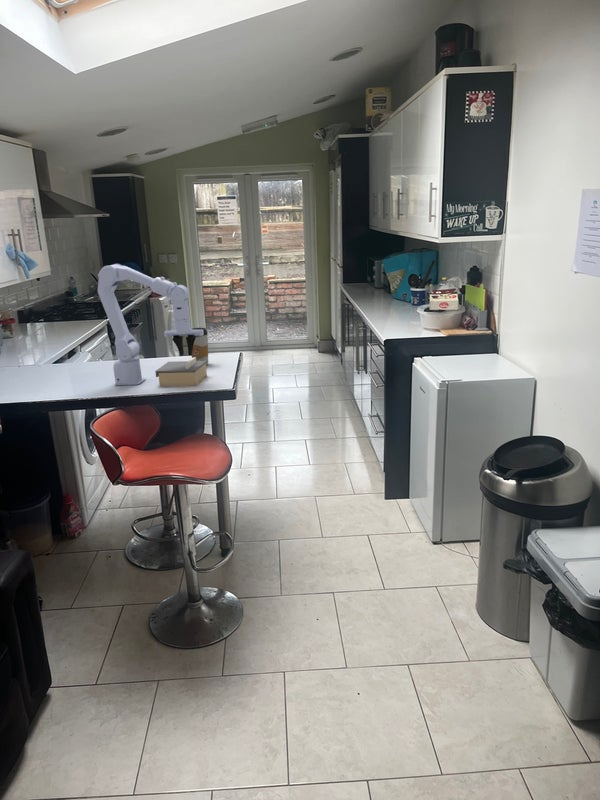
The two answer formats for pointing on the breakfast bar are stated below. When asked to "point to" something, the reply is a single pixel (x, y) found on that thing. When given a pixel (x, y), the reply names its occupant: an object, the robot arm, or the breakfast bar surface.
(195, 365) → the grey square slab
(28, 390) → the breakfast bar surface
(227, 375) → the breakfast bar surface
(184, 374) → the storage box
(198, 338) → the coffee cup
